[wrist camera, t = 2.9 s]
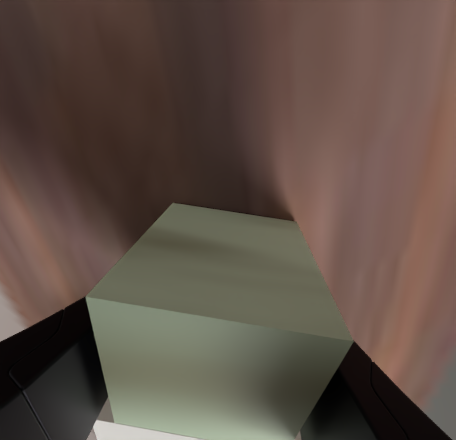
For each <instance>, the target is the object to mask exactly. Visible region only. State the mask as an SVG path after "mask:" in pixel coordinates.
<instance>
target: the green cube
mask: <svg viewBox="0 0 456 440" xmlns="http://www.w3.org/2000/svg"><path fill="white" fill-rule="evenodd" d="M86 302H87V306H88V310H89V315H90V319H91V323H92V327H93V332H94V336H95V340H96V345H97V349H98V353H99V358H100V362H101V366H102V371H103V375H104V379H105V384H106V388H107V392H108V397H109V401H110V405H111V410H112V414H113V418H114V423H119V424H124V425H130V426H135V427H141V428H146V429H152V430H157V431H163V432H168V433H174V434H179V435H185V436H190V437H196V438H201V439H207V440H294V439H295V438H296V436H297V434H298V433H299V431H300V429H301V428H302V426H303V424H304V423H305V421H306V419H307V418H308V416H309V415H310V413H311V411H312V410H313V408H314V406H315V405H316V403H317V401H318V400H319V398H320V396H321V395H322V393H323V391H324V390H325V388H326V386H327V385H328V383H329V381H330V380H331V378H332V377H333V375H334V373H335V372H336V370H337V368H338V367H339V365H340V363H341V362H342V360H343V358H344V357H345V355H346V353H347V352H348V350H349V348H350V347H351V345H352V343H353V342H354V341H353V339H352V337H351V335H350V333H349V331H348V328H347V326H346V324H345V322H344V320H343V318H342V316H341V314H340V312H339V310H338V308H337V305H336V303H335V301H334V299H333V297H332V295H331V293H330V291H329V289H328V287H327V284H326V282H325V280H324V278H323V276H322V274H321V272H320V270H319V268H318V266H317V264H316V261H315V259H314V257H313V255H312V253H311V251H310V249H309V247H308V245H307V243H306V240H305V238H304V236H303V234H302V232H301V230H300V228H299V226H298V224H297V222H295V221H288V220H282V219H275V218H269V217H262V216H256V215H249V214H243V213H236V212H230V211H223V210H216V209H210V208H203V207H197V206H190V205H184V204H177V203H172V204H171V205H170V206H169V207H168V208H167V210H166V211H165V212H164V213H163V214H162V215H161V216H160V217H159V218H158V219H157V220H156V221H155V222H154V224H153V225H152V226H151V227H150V228H149V229H148V230H147V231H146V232H145V233H144V234H143V235H142V236H141V237H140V239H139V240H138V241H137V242H136V243H135V244H134V245H133V246H132V247H131V248H130V249H129V250H128V251H127V253H126V254H125V255H124V256H123V257H122V258H121V259H120V260H119V261H118V262H117V263H116V264H115V265H114V267H113V268H112V269H111V270H110V271H109V272H108V273H107V274H106V275H105V276H104V277H103V278H102V279H101V280H100V282H99V283H98V284H97V285H96V286H95V287H94V288H93V289H92V290H91V291H90V292H89V293H88V294H87V296H86Z"/></svg>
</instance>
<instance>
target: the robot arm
mask: <svg viewBox="0 0 456 440" xmlns="http://www.w3.org/2000/svg"><path fill="white" fill-rule="evenodd" d="M353 341H354V340H353ZM107 398H108V392H107V388H106V384H105V379H104V375H103V371H102V366H101V362H100V358H99V353H98V349H97V345H96V340H95V336H94V332H93V327H92V323H91V319H90V315H89V310H88V306H87V302H86V296H85V297H83V298H82V299H80V300H78V301H76V302H74V303H73V304H71V305H69V306H67V307H66V308H65V309H64V310H63V309H62V310H60V311H58V312H56V313H55V314H53V315H51V316H49V317H47V318H46V319H44V320H42V321H40V322H38V323H36V324H34V325H32V326H31V327H29V328H27V329H25V330H23V331H21V332H19V333H17V334H15V335H13V336H11V337H9V338H7V339H5V340H3V341H1V342H0V440H86V439H87V437H88V435H89V433H90V432H91V430H92V428H93V426H94V424H95V422H96V420H97V418H98V416H99V414H100V412H101V410H102V408H103V406H104V404H105V402H106V400H107ZM300 434H301V440H452V439H451V438H450V437H449V436H448V435H447V434H446V433H445V432H444V431H442V430H441V429H440V428H439V427H438V426H437V425H436V424H435V423H434V422H433V421H432V420H431V419H430V418H429V417H428V416H427V415H426V414H425V413H424V412H423V411H422V410H421V409H420V408H419V407H418V406H417V405H416V404H414V403H413V402H412V401H411V400H410V399H409V398H408V397H407V396H406V395H405V394H404V393H403V392H402V391H401V390H400V389H399V388H398V387H397V386H396V385H395V384H394V382H393V381H392V380H391V379H390V378H389V377H388V376H387V375H386V374H385V373H384V372H383V371H382V370H381V369H380V368H379V367H378V366H377V365H376V364H375V363H374V362H372V360H371V358H370V357H369V356H368V355H367V354H366V353H365V352H364V351H363V350H362V349H361V348H360V347H359V346H358V345H357V343H356V342H355V341H354V342H353V343H352V345H351V347H350V348H349V350H348V352H347V353H346V355H345V357H344V358H343V360H342V362H341V363H340V365H339V367H338V368H337V370H336V372H335V373H334V375H333V377H332V378H331V380H330V381H329V383H328V385H327V386H326V388H325V390H324V391H323V393H322V395H321V396H320V398H319V400H318V401H317V403H316V405H315V406H314V408H313V410H312V411H311V413H310V415H309V416H308V418H307V419H306V421H305V423H304V424H303V426H302V428H301V429H300Z"/></svg>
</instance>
